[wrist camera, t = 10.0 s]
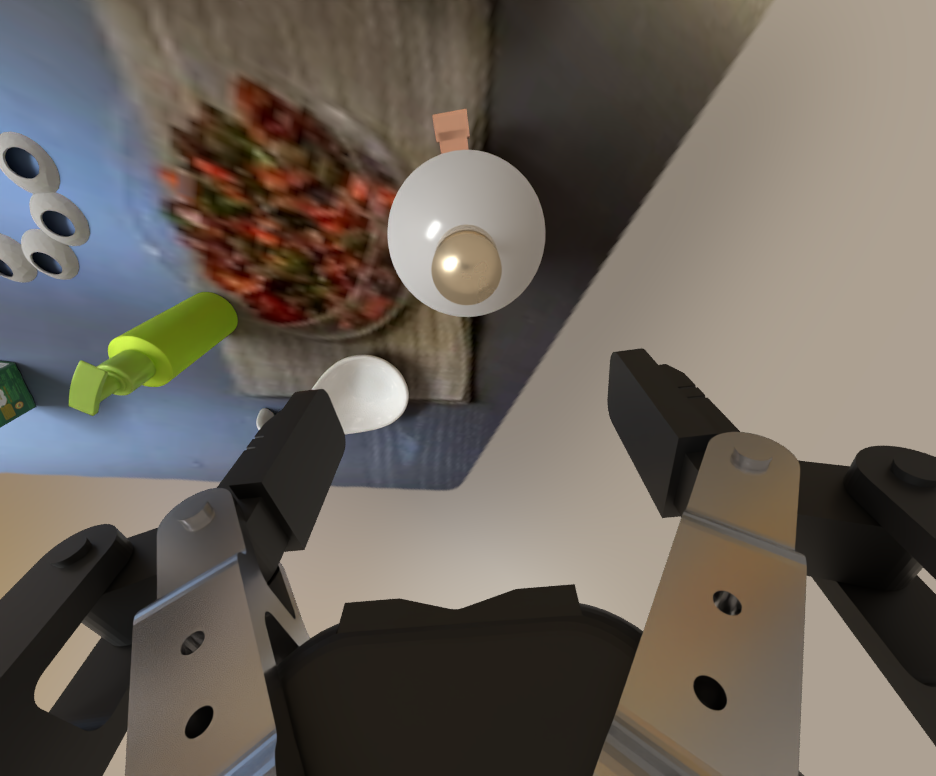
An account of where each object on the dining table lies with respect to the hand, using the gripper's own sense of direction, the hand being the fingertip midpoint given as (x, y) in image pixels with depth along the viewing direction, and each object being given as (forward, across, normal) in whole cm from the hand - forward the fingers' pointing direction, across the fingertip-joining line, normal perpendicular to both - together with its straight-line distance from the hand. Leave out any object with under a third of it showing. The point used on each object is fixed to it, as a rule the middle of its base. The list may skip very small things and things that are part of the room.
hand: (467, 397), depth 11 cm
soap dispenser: (+38, +34, +7) cm, 51 cm away
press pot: (+37, 0, -1) cm, 37 cm away
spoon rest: (+38, +23, +22) cm, 49 cm away
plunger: (+20, 0, 0) cm, 20 cm away
